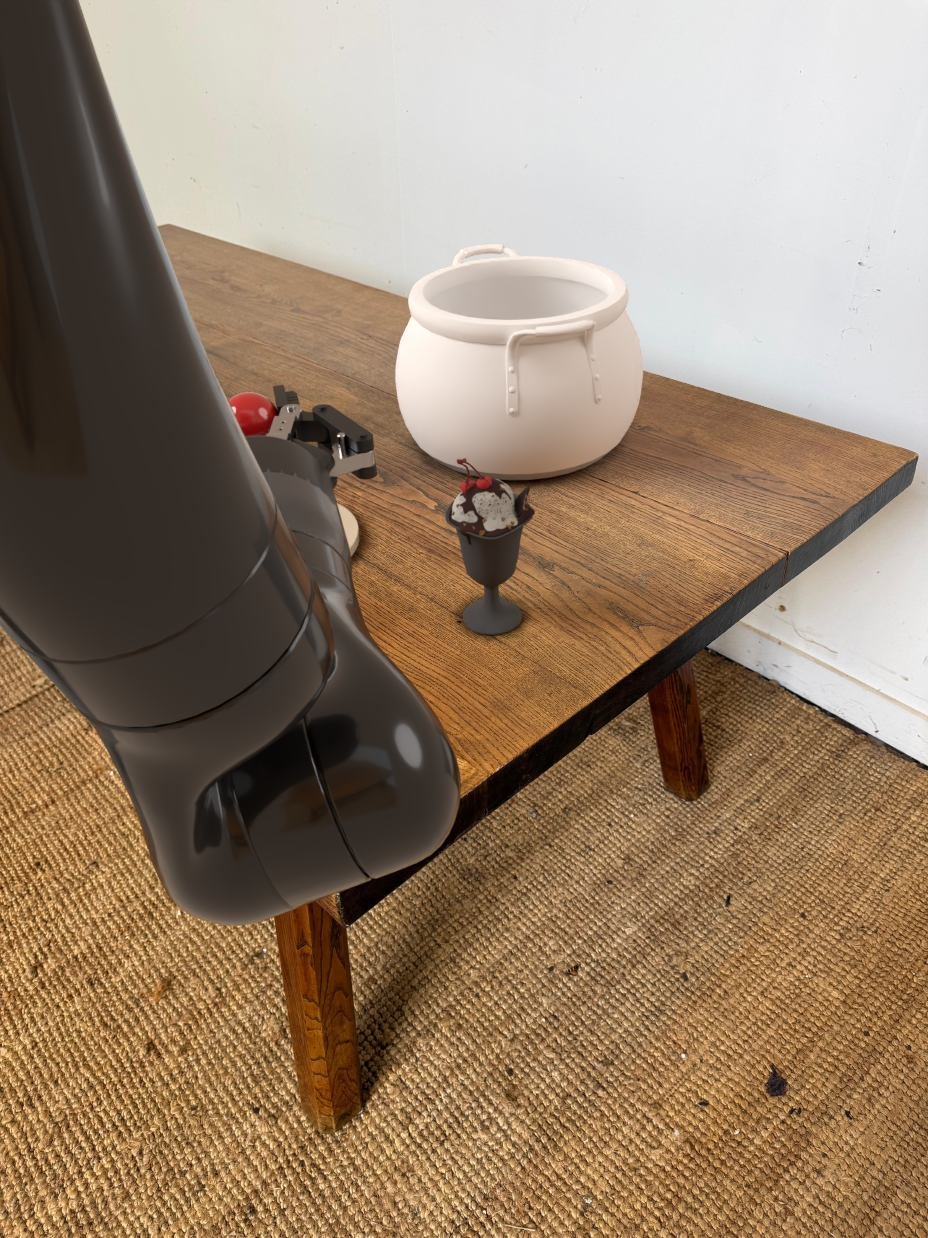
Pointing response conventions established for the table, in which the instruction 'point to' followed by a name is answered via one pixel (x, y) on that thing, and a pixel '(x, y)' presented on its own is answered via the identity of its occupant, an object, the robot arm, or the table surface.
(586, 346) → the pot
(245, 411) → the red ball joystick
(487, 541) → the sundae
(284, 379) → the table surface
